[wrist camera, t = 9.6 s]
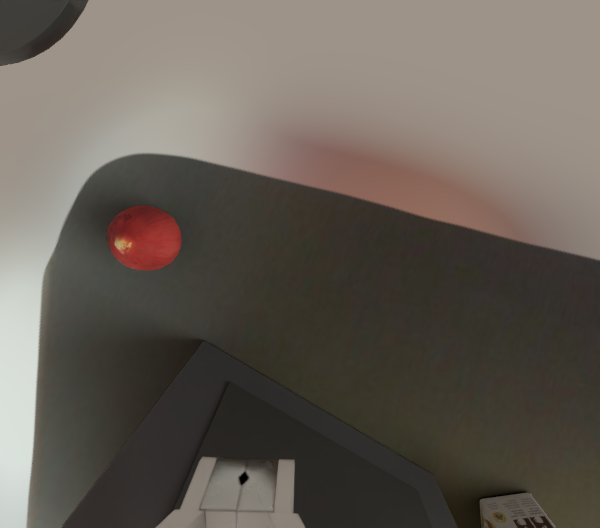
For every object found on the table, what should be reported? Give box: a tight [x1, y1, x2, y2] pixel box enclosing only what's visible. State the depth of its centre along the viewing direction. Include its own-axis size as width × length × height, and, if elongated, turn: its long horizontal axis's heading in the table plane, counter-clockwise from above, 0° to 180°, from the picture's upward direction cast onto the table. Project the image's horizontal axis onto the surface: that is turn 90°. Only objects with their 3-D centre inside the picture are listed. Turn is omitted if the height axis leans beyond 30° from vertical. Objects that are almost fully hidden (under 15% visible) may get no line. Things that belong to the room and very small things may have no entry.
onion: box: [106, 206, 182, 270], centre depth 25 cm, size 6×6×8 cm
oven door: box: [61, 341, 458, 528], centre depth 21 cm, size 7×32×24 cm, turn 57°
